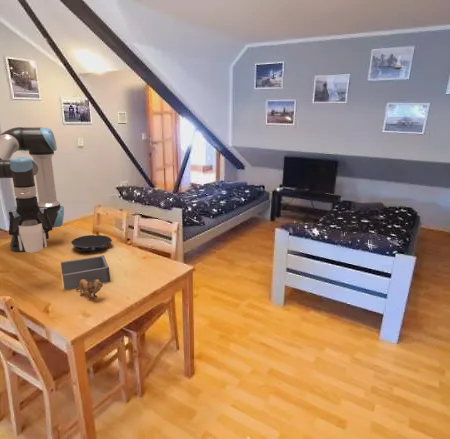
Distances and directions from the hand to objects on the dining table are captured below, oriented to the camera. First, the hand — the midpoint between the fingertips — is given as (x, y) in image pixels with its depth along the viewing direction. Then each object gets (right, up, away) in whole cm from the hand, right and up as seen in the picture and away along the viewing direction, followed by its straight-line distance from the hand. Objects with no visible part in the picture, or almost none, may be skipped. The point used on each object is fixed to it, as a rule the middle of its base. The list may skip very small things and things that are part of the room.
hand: (33, 247), depth 143 cm
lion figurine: (+24, -21, 0) cm, 32 cm away
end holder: (+16, -16, +13) cm, 26 cm away
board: (+7, -4, +47) cm, 48 cm away
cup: (0, -1, 0) cm, 1 cm away
